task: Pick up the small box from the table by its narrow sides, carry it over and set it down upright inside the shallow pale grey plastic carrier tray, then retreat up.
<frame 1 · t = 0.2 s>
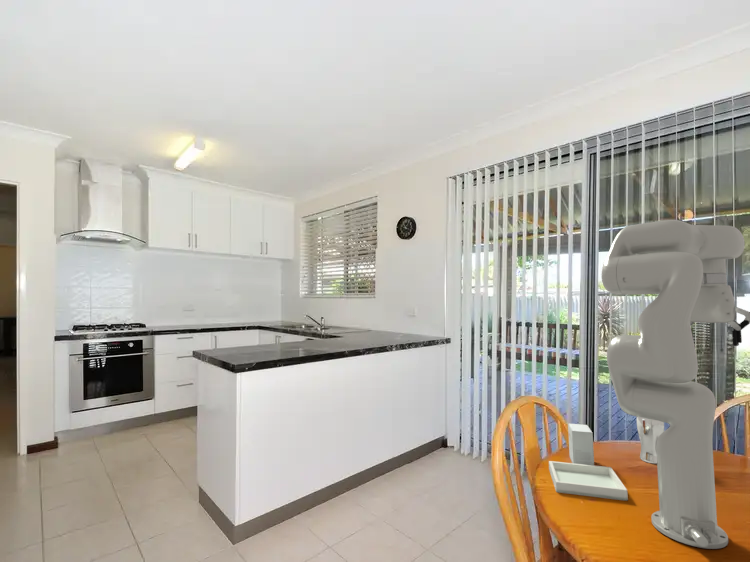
hand: (711, 344, 105), 37 cm above the table, tool pointing down, fingers open, 9 cm apart
small box: (581, 463, 117), on the table
beer glass: (652, 460, 119), on the table
carrier tray: (585, 483, 104), on the table
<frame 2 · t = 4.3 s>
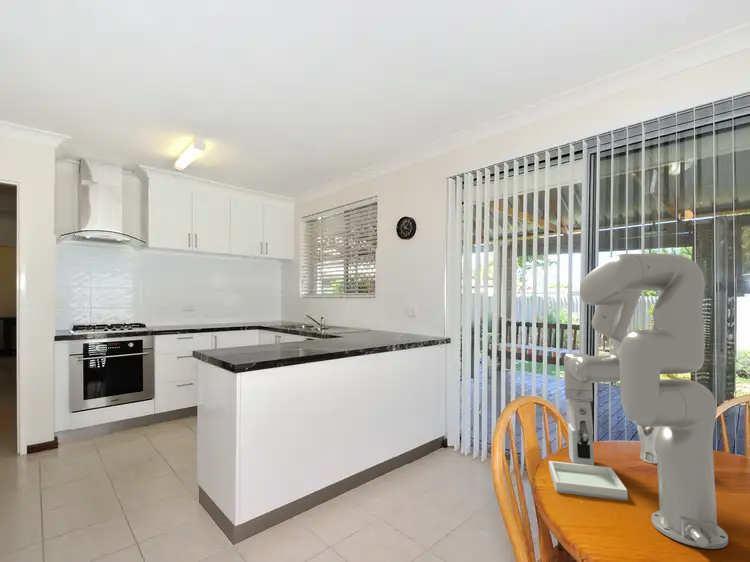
hand: (580, 452, 118), 3 cm above the table, tool pointing down, fingers closed on small box, 8 cm apart
small box: (581, 463, 118), on the table, touching gripper
everything else where it was.
when the fingers open (5 cm above the table, at t = 11.0 s): small box drops 1 cm, resting on carrier tray.
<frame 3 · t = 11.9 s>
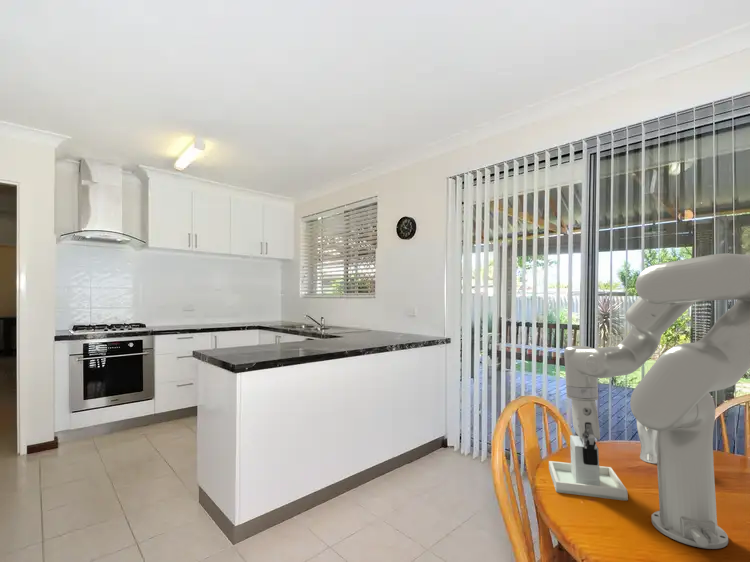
hand: (586, 457, 104), 7 cm above the table, tool pointing down, fingers open, 9 cm apart
small box: (585, 481, 104), point 1 cm above the table, touching carrier tray
everything else where it was.
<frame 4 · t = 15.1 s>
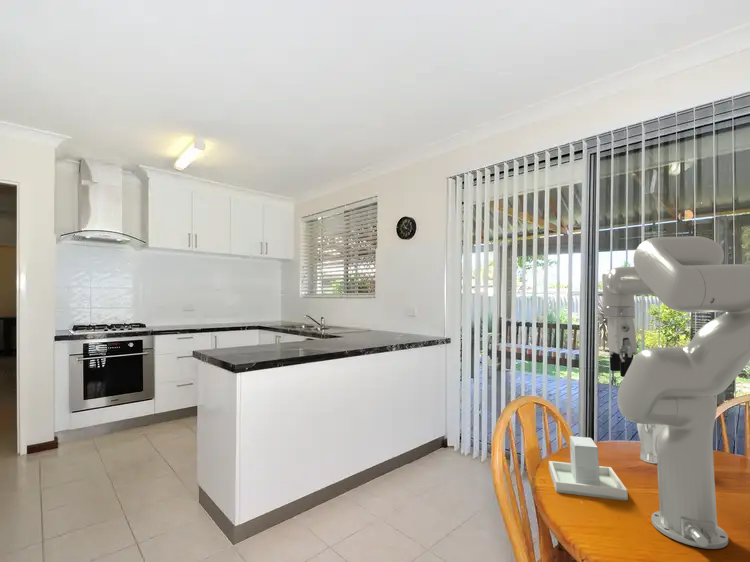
hand: (621, 373, 110), 28 cm above the table, tool pointing down, fingers open, 9 cm apart
nothing on the table moved.
at the end: small box inside the target area on the carrier tray (0.2 cm from its centre), point 0.4 cm above the carrier tray's base; small box tilted 0°; the gripper is holding nothing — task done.
